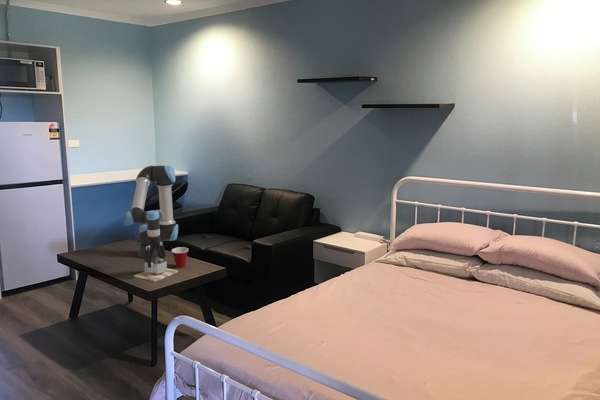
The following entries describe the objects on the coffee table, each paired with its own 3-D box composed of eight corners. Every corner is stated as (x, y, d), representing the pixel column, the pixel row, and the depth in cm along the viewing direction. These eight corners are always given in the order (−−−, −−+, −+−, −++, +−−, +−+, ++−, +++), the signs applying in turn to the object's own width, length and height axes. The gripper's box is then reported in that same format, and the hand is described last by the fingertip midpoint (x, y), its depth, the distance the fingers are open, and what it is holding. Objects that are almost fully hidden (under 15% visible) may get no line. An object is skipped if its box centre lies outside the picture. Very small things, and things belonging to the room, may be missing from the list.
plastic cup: (172, 270, 307) (171, 252, 305) (172, 265, 317) (171, 247, 315) (189, 268, 310) (188, 250, 308) (188, 263, 320) (187, 246, 318)
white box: (154, 267, 304) (153, 258, 303) (167, 270, 299) (166, 261, 298) (144, 271, 298) (144, 262, 296) (157, 273, 292) (157, 264, 291)
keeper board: (157, 267, 312) (156, 251, 310) (178, 272, 303) (177, 254, 301) (133, 276, 294) (132, 259, 292) (155, 281, 286) (153, 263, 284)
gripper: (145, 240, 283) (147, 276, 288) (170, 232, 301) (172, 266, 306) (136, 238, 287) (139, 274, 291) (161, 231, 305) (163, 264, 309)
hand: (156, 270), depth 298 cm, fingers closed on white box, 8 cm apart
